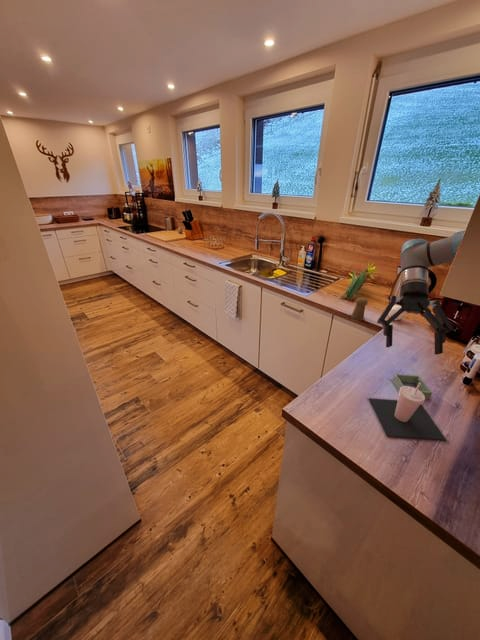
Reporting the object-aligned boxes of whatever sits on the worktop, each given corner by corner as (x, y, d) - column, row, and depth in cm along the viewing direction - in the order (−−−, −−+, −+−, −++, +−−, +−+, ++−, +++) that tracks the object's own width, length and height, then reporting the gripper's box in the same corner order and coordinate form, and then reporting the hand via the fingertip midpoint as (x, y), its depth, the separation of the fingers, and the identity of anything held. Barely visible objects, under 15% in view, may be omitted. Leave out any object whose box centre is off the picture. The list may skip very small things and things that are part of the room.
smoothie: (406, 429, 75) (424, 393, 69) (385, 413, 80) (400, 378, 73) (417, 420, 78) (436, 384, 72) (396, 405, 83) (412, 371, 76)
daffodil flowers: (328, 296, 162) (350, 269, 181) (347, 311, 161) (367, 283, 179) (346, 280, 148) (367, 252, 167) (366, 297, 146) (386, 267, 165)
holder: (415, 382, 94) (418, 375, 92) (429, 399, 87) (432, 392, 85) (391, 380, 94) (394, 373, 93) (403, 397, 87) (406, 391, 85)
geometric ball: (396, 325, 136) (409, 318, 129) (383, 318, 136) (395, 312, 129) (396, 313, 140) (408, 306, 133) (383, 307, 139) (395, 300, 132)
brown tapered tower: (348, 317, 136) (354, 298, 131) (354, 314, 140) (359, 295, 134) (360, 321, 132) (365, 302, 127) (365, 318, 136) (371, 298, 130)
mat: (418, 402, 85) (419, 401, 85) (445, 440, 73) (446, 439, 73) (368, 399, 86) (369, 398, 86) (387, 436, 74) (387, 435, 73)
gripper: (450, 294, 85) (452, 358, 80) (368, 285, 90) (365, 345, 84) (465, 284, 78) (469, 354, 73) (376, 276, 83) (373, 340, 77)
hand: (413, 350), depth 79 cm, fingers open, 13 cm apart
